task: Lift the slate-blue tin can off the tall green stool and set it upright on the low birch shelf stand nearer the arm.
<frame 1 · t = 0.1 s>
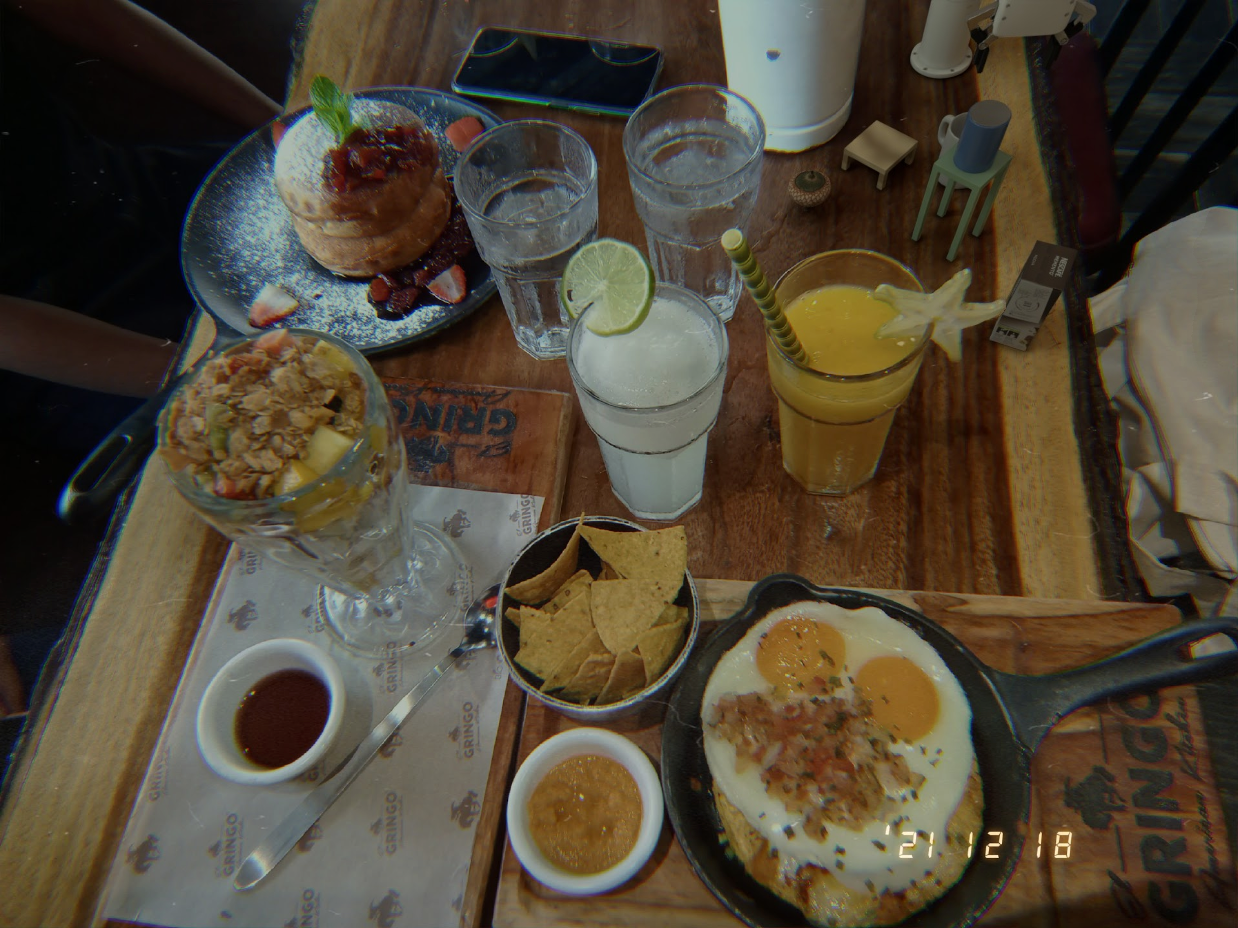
hand: (1011, 66, 113), 31 cm above the table, tool pointing down, fingers open, 9 cm apart
mug: (951, 169, 146), on the table
low shelf: (876, 165, 149), on the table
acorn: (806, 210, 147), on the table
coffee box: (1014, 327, 129), on the table
tall green stool: (945, 236, 139), on the table
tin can: (973, 160, 123), point 18 cm above the table, touching tall green stool
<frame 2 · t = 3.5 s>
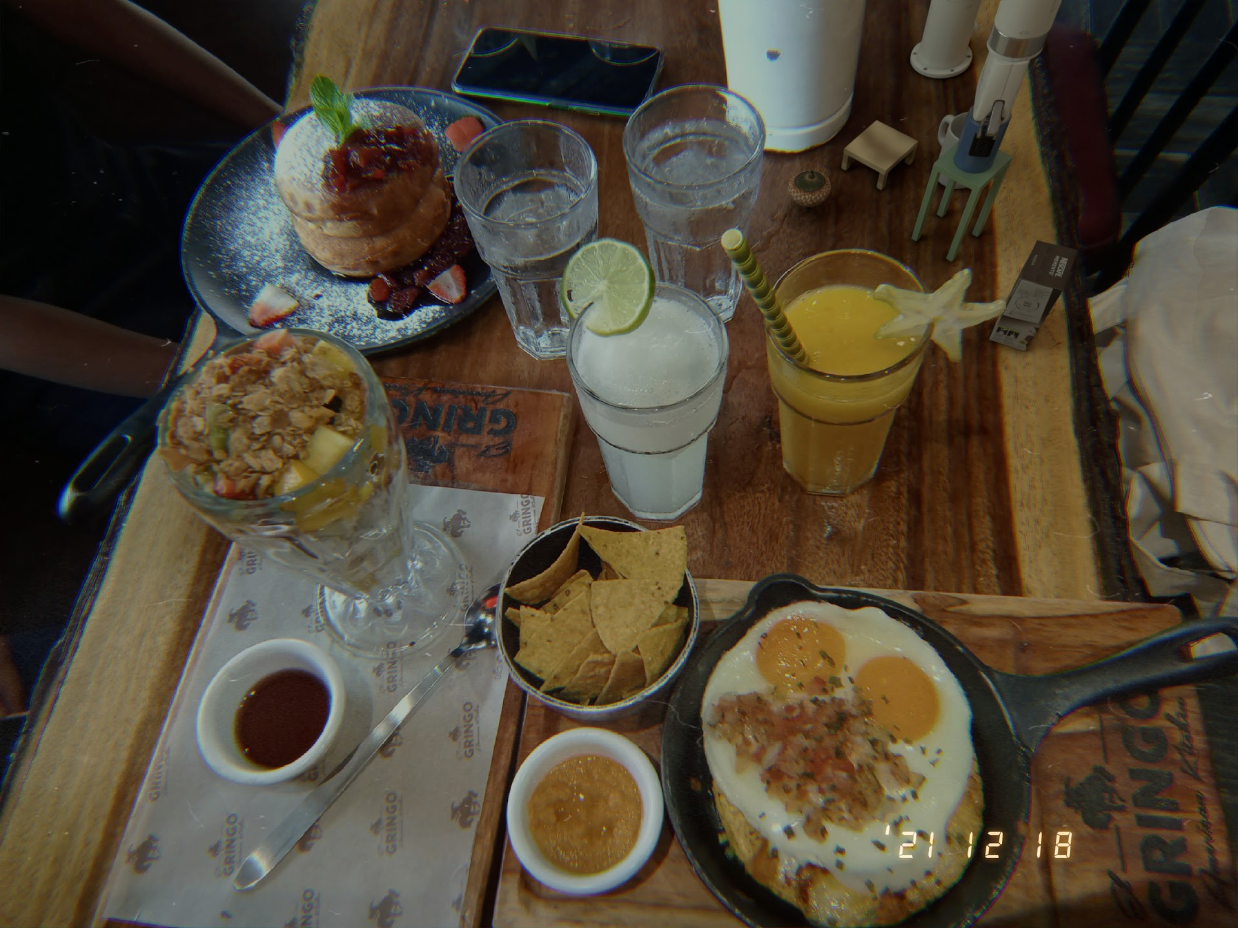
hand: (980, 139, 119), 22 cm above the table, tool pointing down, fingers closed on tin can, 6 cm apart
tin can: (973, 160, 123), point 18 cm above the table, touching gripper, tall green stool
everything else where it was.
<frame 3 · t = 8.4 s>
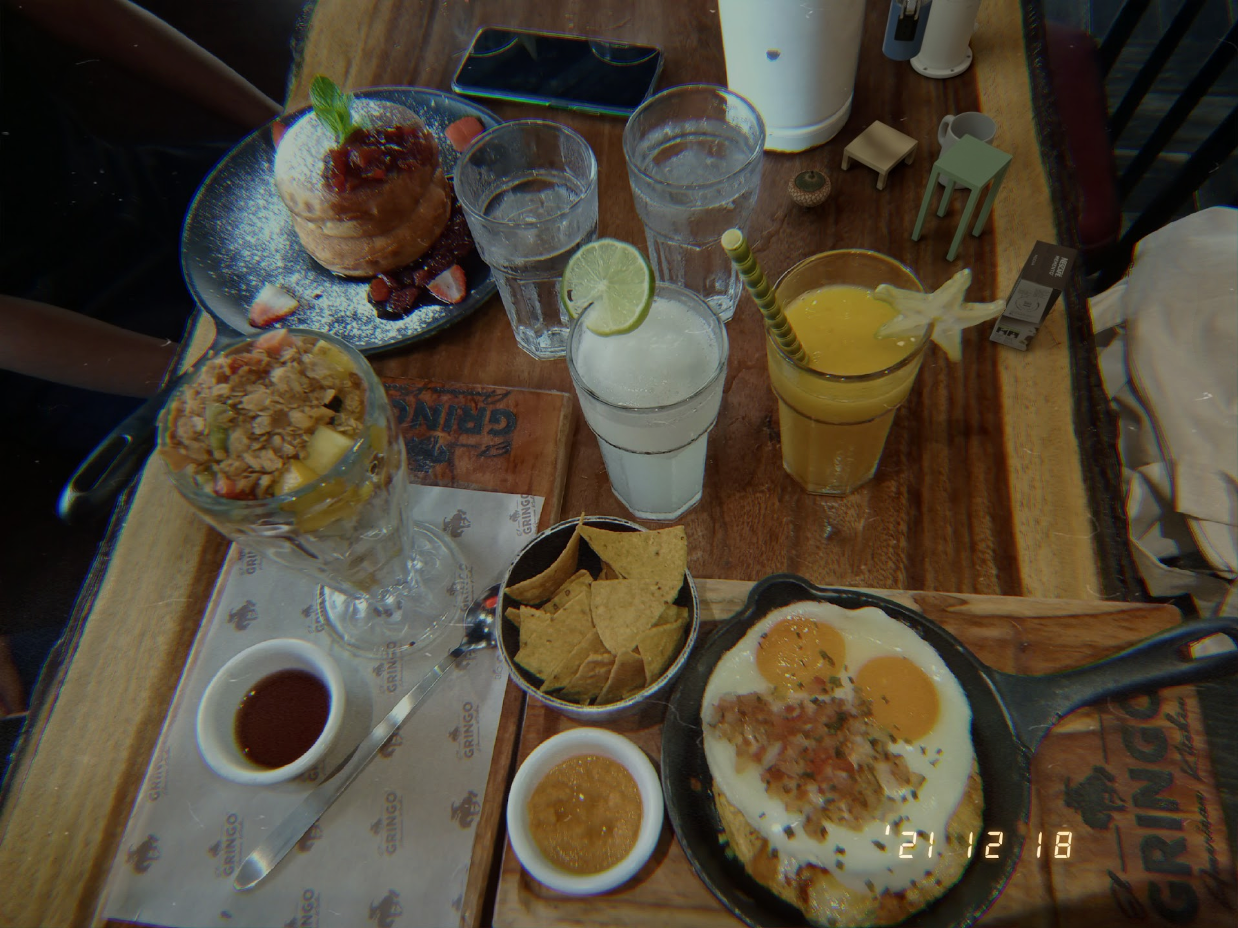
hand: (906, 25, 123), 30 cm above the table, tool pointing down, fingers closed on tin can, 6 cm apart
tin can: (901, 48, 127), point 25 cm above the table, touching gripper
everything else where it was.
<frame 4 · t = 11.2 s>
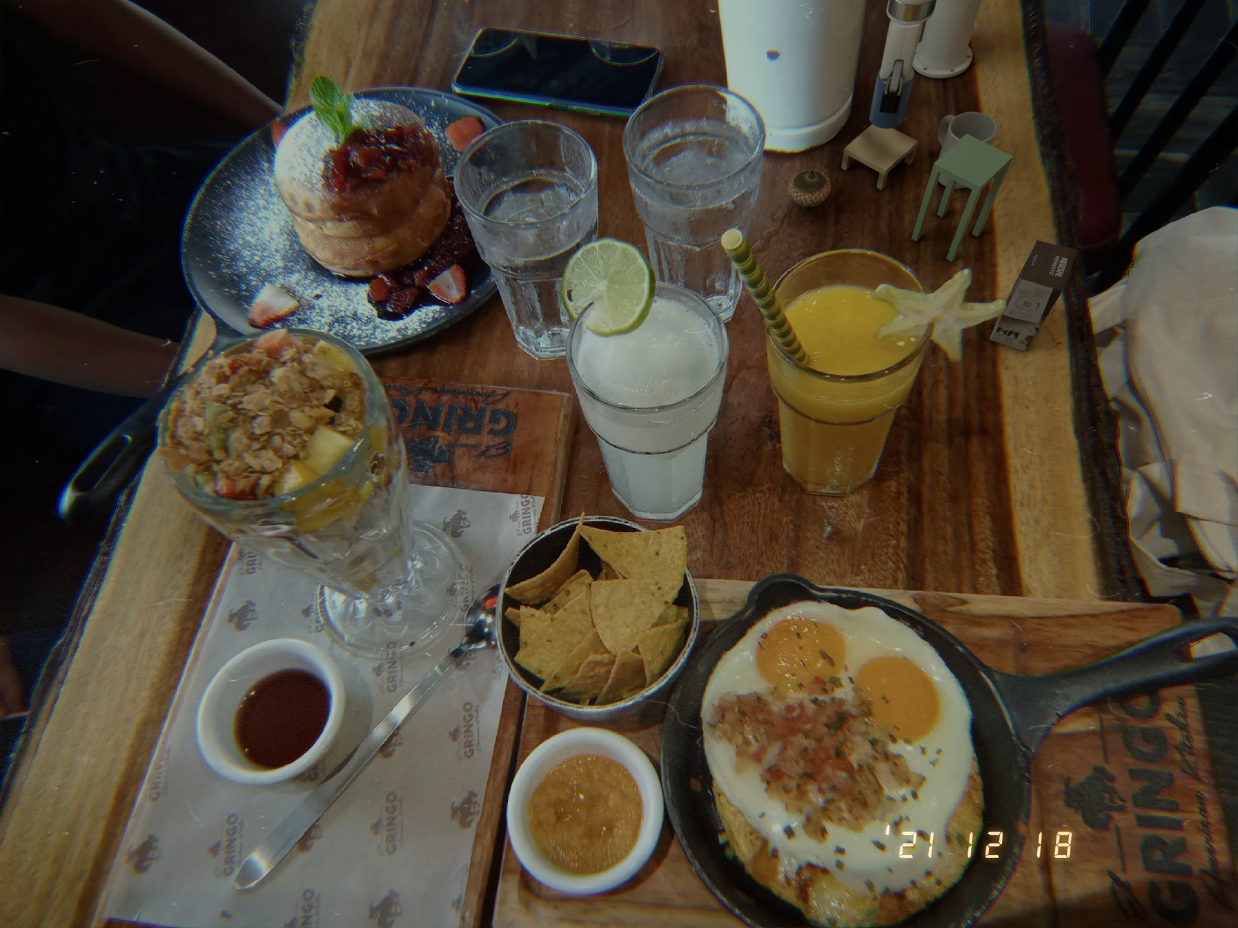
hand: (891, 97, 135), 16 cm above the table, tool pointing down, fingers closed on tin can, 6 cm apart
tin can: (886, 117, 139), point 11 cm above the table, touching gripper
everything else where it was.
when the fingers open (9 cm above the table, at t = 13.2 s): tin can stays where it is, resting on low shelf.
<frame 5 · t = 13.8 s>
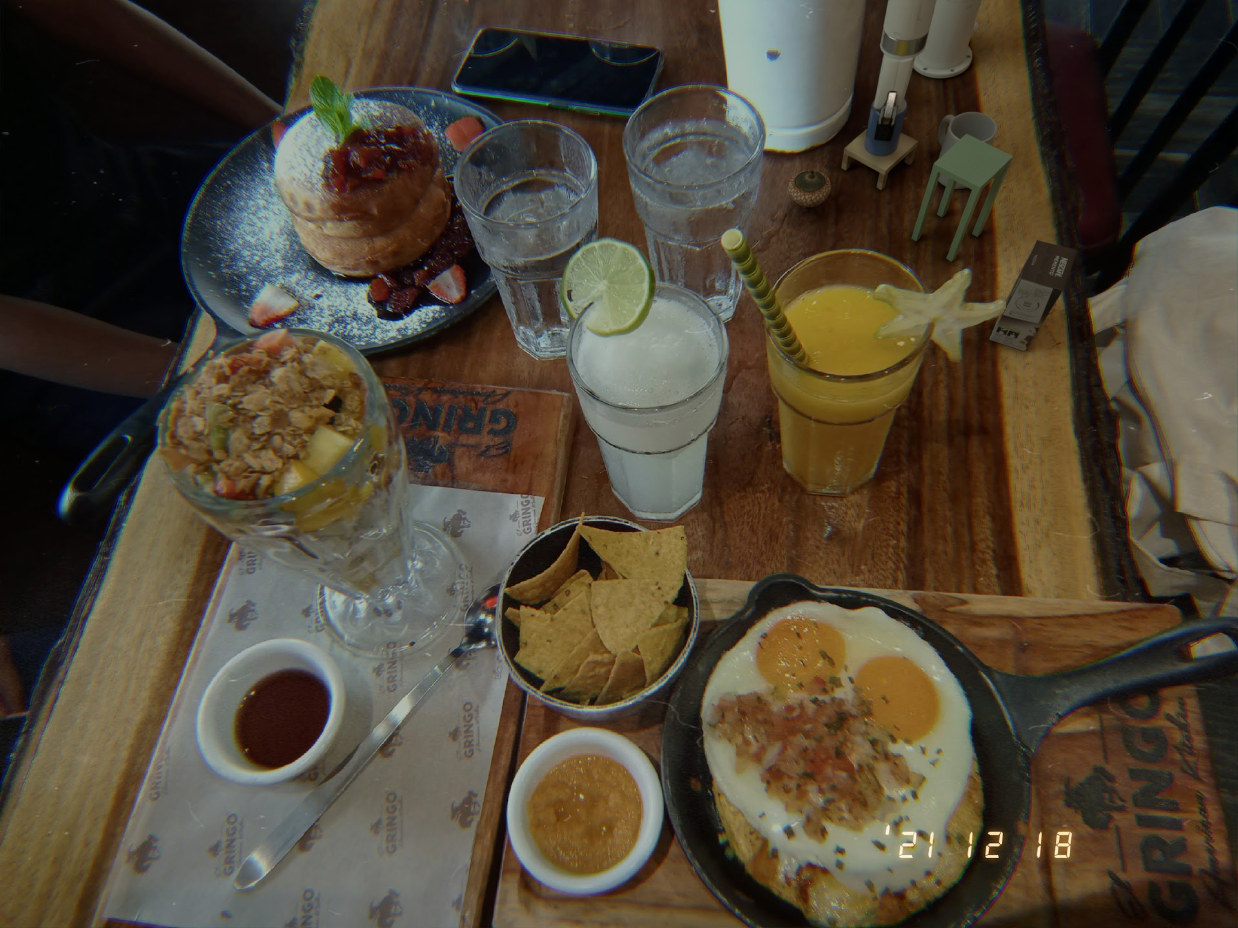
hand: (886, 122, 140), 10 cm above the table, tool pointing down, fingers open, 9 cm apart
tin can: (880, 145, 145), point 5 cm above the table, touching low shelf
everything else where it was.
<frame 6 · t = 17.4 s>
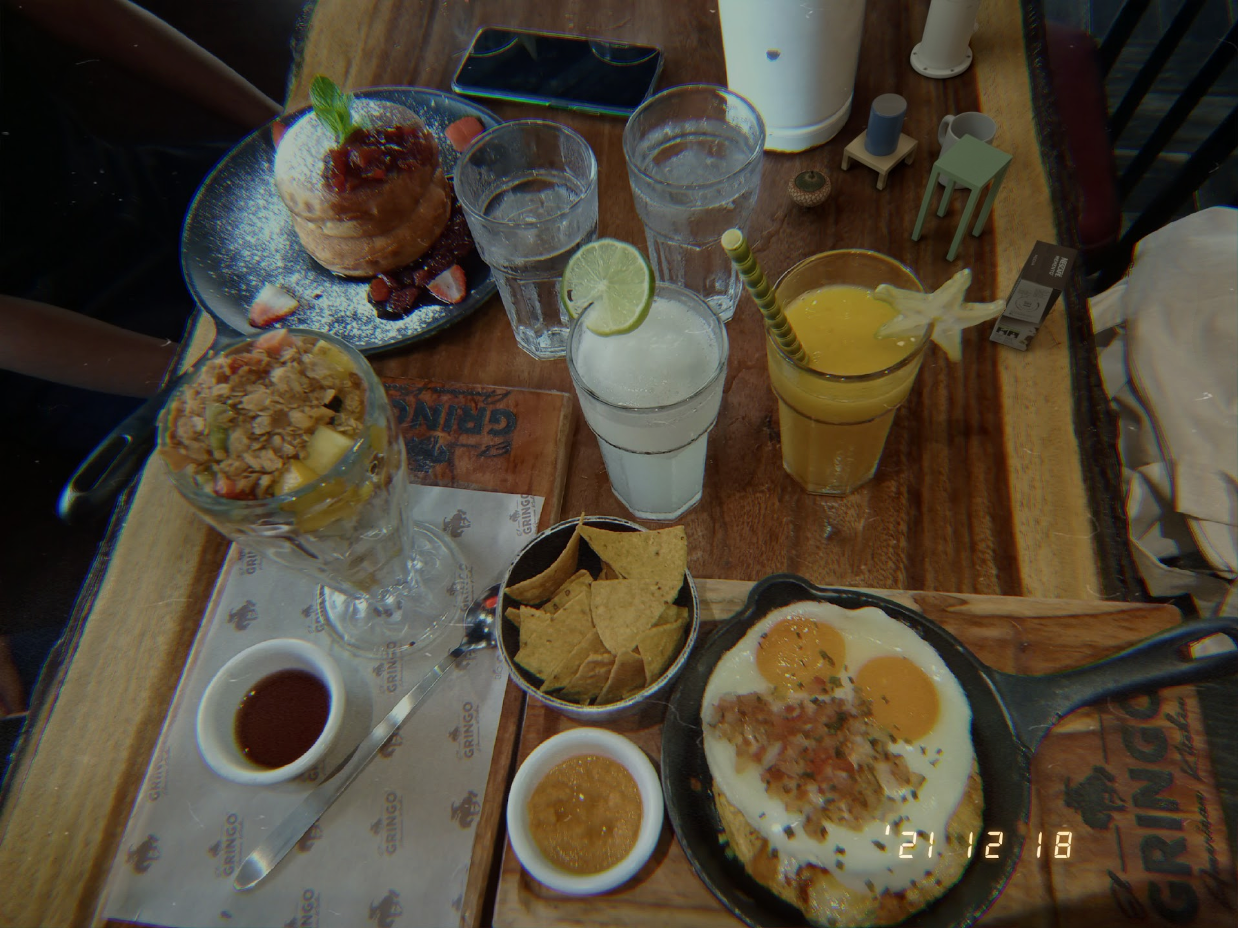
nothing on the table moved.
at the end: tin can inside the target area on the low shelf (0.1 cm from its centre), point 5.0 cm above the low shelf's base; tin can tilted 0° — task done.
